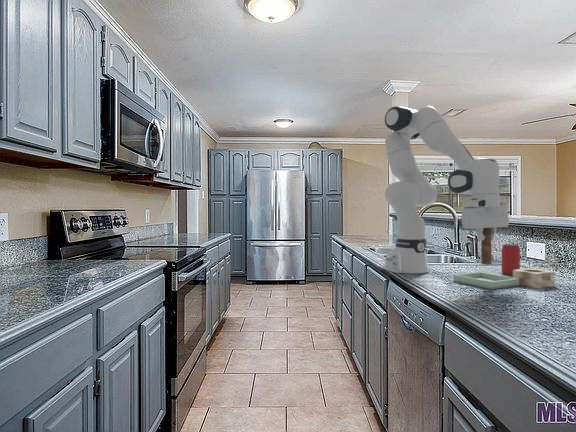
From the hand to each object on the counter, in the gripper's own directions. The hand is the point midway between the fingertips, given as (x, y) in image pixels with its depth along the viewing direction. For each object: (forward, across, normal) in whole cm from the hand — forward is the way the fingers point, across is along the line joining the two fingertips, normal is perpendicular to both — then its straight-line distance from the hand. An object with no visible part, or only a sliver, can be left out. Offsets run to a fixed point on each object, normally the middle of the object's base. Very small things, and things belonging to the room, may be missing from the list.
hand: (486, 240), depth 138 cm
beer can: (+16, -27, -10) cm, 33 cm away
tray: (+16, 0, 0) cm, 16 cm away
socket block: (+16, -13, +9) cm, 22 cm away
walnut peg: (+9, 0, 0) cm, 9 cm away
